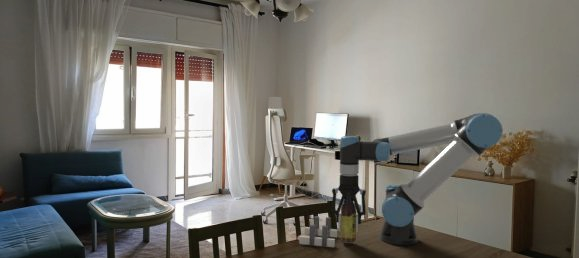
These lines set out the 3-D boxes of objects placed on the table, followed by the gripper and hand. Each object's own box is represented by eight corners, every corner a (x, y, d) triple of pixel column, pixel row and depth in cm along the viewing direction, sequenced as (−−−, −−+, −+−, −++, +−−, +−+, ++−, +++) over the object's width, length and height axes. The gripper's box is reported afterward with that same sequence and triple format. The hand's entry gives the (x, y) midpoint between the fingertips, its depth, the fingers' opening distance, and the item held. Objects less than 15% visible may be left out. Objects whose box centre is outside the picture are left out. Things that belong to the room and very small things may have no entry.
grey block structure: (337, 236, 169) (337, 218, 168) (334, 247, 156) (334, 227, 155) (305, 233, 172) (305, 215, 171) (299, 244, 158) (299, 224, 158)
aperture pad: (317, 236, 168) (317, 235, 168) (315, 243, 160) (315, 241, 160) (299, 235, 169) (299, 233, 169) (295, 241, 162) (295, 239, 161)
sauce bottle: (355, 243, 156) (356, 194, 155) (339, 242, 157) (340, 193, 156) (356, 238, 163) (357, 190, 162) (340, 237, 164) (341, 190, 163)
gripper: (373, 173, 160) (372, 229, 162) (326, 172, 164) (325, 226, 165) (373, 176, 153) (372, 235, 154) (324, 174, 157) (323, 232, 158)
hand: (348, 230), depth 160 cm, fingers closed on sauce bottle, 6 cm apart
